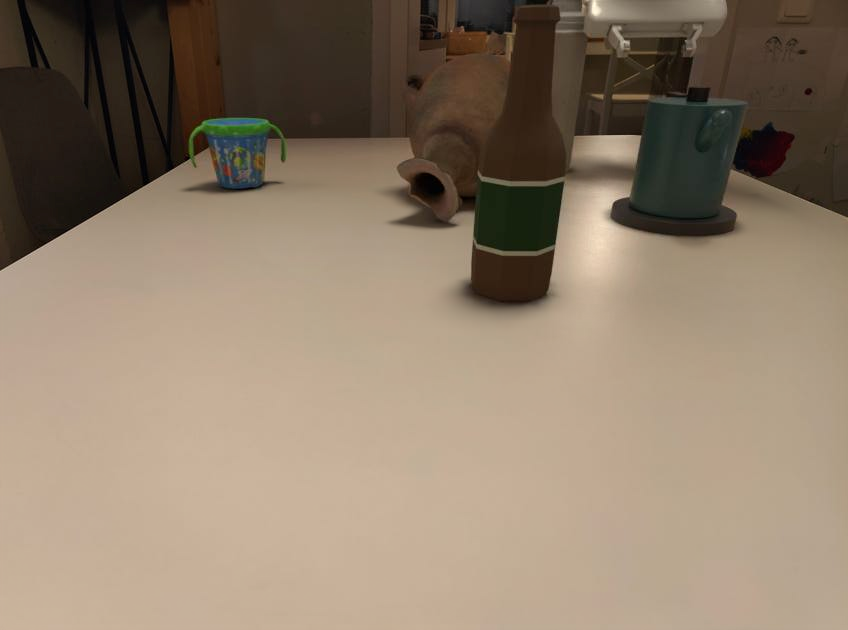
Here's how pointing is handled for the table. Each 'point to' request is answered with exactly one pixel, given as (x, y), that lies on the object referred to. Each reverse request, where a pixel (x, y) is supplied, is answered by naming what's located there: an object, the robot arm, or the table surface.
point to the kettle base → (673, 221)
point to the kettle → (686, 154)
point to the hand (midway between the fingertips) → (656, 54)
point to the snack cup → (237, 149)
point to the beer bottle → (521, 172)
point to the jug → (451, 128)
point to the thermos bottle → (568, 69)
